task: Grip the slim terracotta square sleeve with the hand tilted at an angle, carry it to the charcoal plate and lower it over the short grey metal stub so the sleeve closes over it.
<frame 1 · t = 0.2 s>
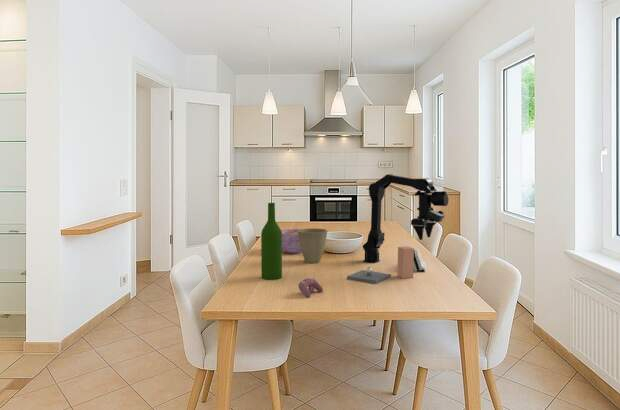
hand: (424, 238, 224), 14 cm above the table, tool pointing down, fingers open, 9 cm apart
terracotta sleeve: (405, 276, 211), on the table
wine bottle: (271, 277, 209), on the table
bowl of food: (293, 252, 265), on the table
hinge: (417, 268, 228), on the table
metal stub: (369, 271, 208), on the charcoal plate, point 3 cm above the table
plant pot: (312, 261, 241), on the table
video game controller: (310, 294, 184), on the table
charcoal plate: (369, 277, 208), on the table
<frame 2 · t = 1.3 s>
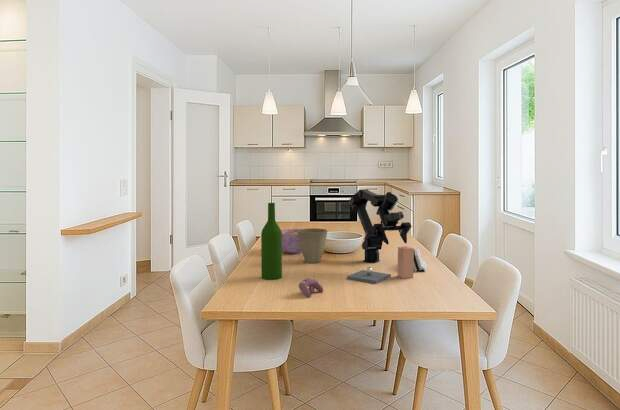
hand: (397, 243, 217), 13 cm above the table, tool tilted 45°, fingers open, 9 cm apart
nothing on the table moved.
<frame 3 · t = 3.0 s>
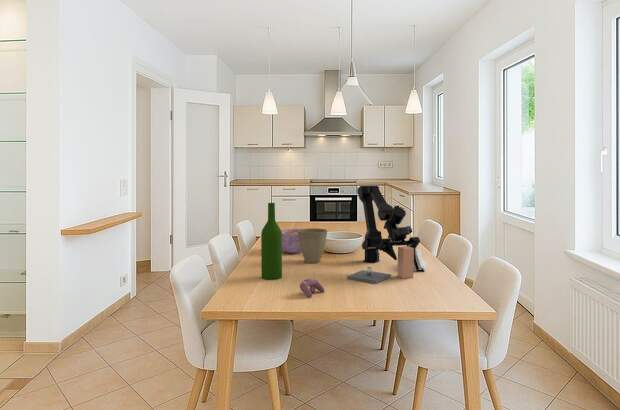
hand: (405, 259, 210), 8 cm above the table, tool tilted 45°, fingers open, 9 cm apart
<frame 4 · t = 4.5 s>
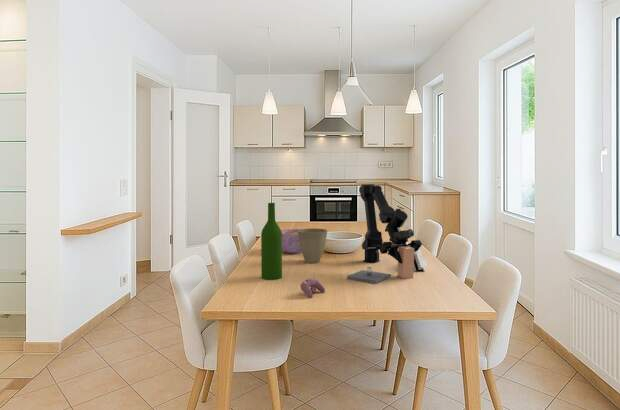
hand: (407, 262, 209), 7 cm above the table, tool tilted 45°, fingers closed on terracotta sleeve, 5 cm apart
terracotta sleeve: (405, 276, 211), on the table, touching gripper
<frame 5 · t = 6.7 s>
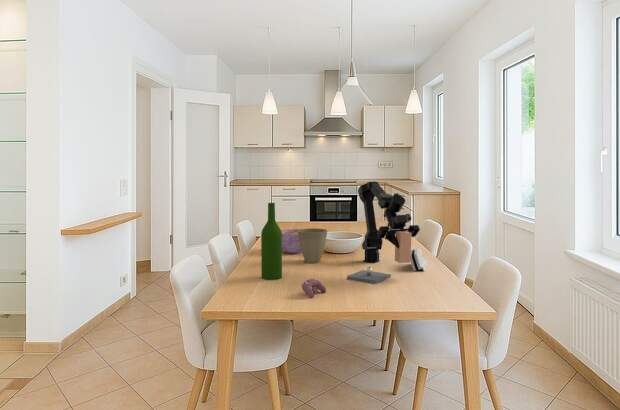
hand: (404, 247, 208), 13 cm above the table, tool tilted 45°, fingers closed on terracotta sleeve, 5 cm apart
terracotta sleeve: (402, 261, 210), point 7 cm above the table, touching gripper
when the fingers open (9 cm above the table, at t = 9.2 s): terracotta sleeve drops 1 cm, resting on charcoal plate.
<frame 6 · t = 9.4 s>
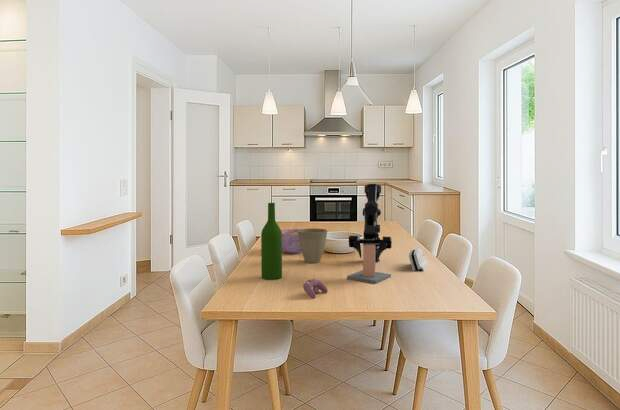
hand: (369, 258, 206), 9 cm above the table, tool tilted 45°, fingers open, 7 cm apart
terracotta sleeve: (369, 274, 208), point 1 cm above the table, touching charcoal plate
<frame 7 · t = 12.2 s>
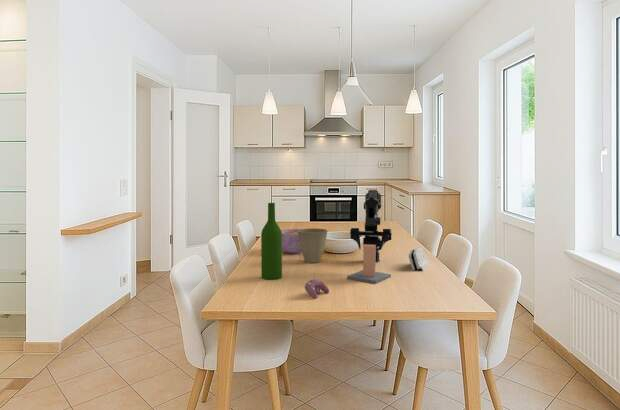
hand: (370, 249, 215), 11 cm above the table, tool tilted 45°, fingers open, 9 cm apart
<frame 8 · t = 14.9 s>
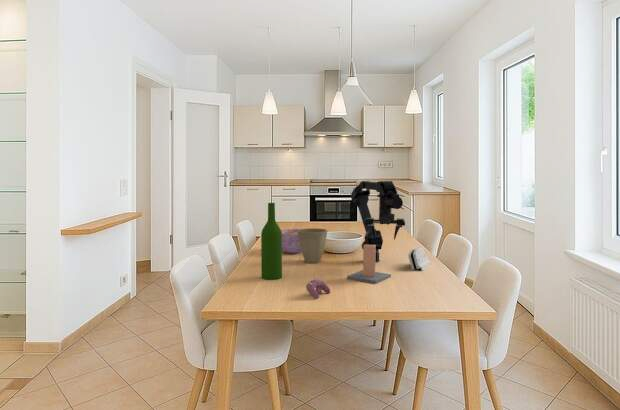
hand: (384, 239, 230), 13 cm above the table, tool pointing down, fingers open, 9 cm apart
at the end: terracotta sleeve 0.1 cm off-centre on the charcoal plate, point 1.2 cm above the charcoal plate's base; terracotta sleeve tilted 0°; the gripper is holding nothing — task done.
